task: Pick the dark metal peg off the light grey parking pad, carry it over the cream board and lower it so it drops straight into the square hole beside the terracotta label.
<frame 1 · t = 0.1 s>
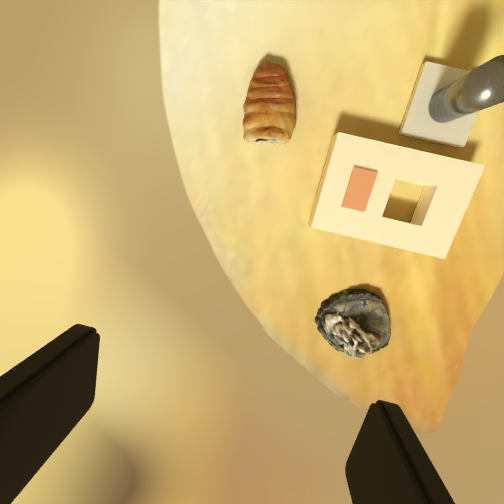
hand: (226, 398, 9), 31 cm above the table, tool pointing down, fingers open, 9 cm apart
peg: (445, 105, 32), point 1 cm above the table, touching parking pad
grey rounded lumpy piece: (353, 319, 42), on the table
pastry: (268, 114, 35), on the table
board: (384, 197, 36), on the table
parking pad: (440, 107, 33), on the table
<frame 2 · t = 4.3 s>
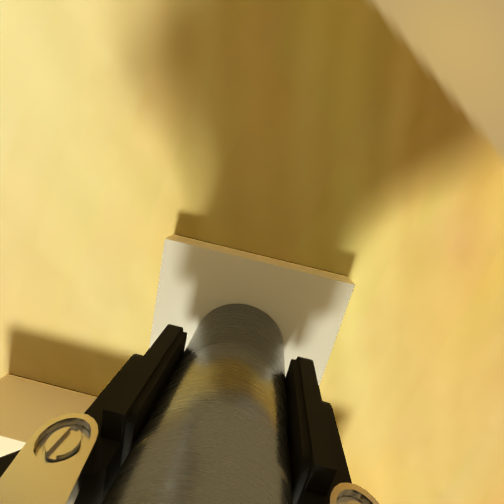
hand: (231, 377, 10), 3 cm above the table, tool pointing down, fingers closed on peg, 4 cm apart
peg: (238, 344, 12), point 1 cm above the table, touching gripper, parking pad
board: (150, 492, 16), on the table
parking pad: (241, 332, 13), on the table
when the fingers open (4 cm above the table, at t = 10.1 s): peg drops 2 cm, resting in board.
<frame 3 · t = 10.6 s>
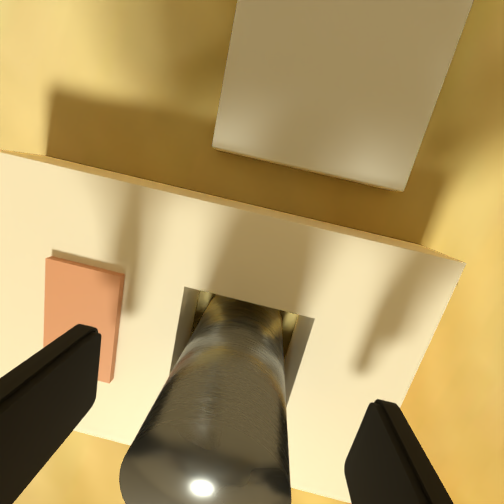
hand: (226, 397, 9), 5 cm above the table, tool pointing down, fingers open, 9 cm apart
peg: (243, 321, 14), resting in board
board: (206, 313, 14), on the table
parking pad: (330, 69, 11), on the table
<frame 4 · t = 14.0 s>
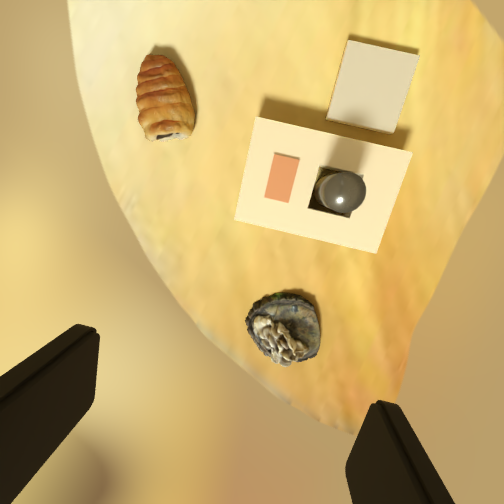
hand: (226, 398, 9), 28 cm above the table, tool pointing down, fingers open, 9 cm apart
peg: (329, 190, 34), resting in board
grey rounded lumpy piece: (285, 324, 40), on the table
pastry: (168, 109, 34), on the table
board: (314, 187, 34), on the table
parking pad: (368, 90, 31), on the table
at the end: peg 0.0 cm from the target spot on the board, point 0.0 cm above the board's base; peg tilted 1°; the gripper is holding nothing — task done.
